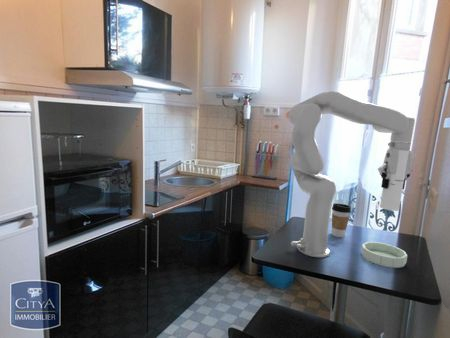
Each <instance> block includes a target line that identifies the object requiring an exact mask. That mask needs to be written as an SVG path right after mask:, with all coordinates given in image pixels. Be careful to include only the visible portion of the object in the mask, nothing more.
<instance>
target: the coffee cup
mask: <svg viewBox="0 0 450 338" xmlns="http://www.w3.org/2000/svg"><path fill="white" fill-rule="evenodd" d="M331 211H332V213H331V235H332V236H334V237H337V238H344V237H345V236H346V231H347V228H348V224H349V219H350V213H351V206H350V205H348V204H343V203H334V202H333V203H332V206H331Z"/></svg>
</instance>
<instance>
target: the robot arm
mask: <svg viewBox="0 0 450 338" xmlns="http://www.w3.org/2000/svg"><path fill="white" fill-rule="evenodd" d="M325 114H326V115H327V114H330V115H333V116H336V117H339V118H342V119H344V120H347V121H349V122H352V123H356V124H359V125H360V124H361V125H370V126H372V129H373V130H375V131H376V132H378V133H382V134H383V133H385V134H387V133H388V134H390V138H389V139H390V140H389V142H388V144H387V146H388V148H387V150H386V153H385V156H384V159H383V164H382V165H381V166H379V167H378V168H377V171H378V172H379V175H380V176H381V179H382V180H381V188H382V189H383V188H385V189H388V185H389V179H388V178H389V177H390V175H391V173H392V174H395V173H396V170H397V164H398V157H399V150H403V151H409V154H408V160H407V165H406V171H405V177H404V183H403V189H402V191H403V190H404V189H405V185H406V181H407V180H408V179H409V178H410V177H411V175H412V174H413V172H414V171H413V168H411V167H412V159H413V158H412V151H411V145H412V140H413V133H414V128H415V122H416V121H415V117H413V116H407V115H406V114H405V113H403V112H400V111H398V110H395V109H392V108H390V107H386V106H382V105H378V104H374V103H371V102H366V101H364V100H360V99H358V98H355V97H353V96H350V95H347V94H346V93H342V92H340V91H335V90H331V91H324V92H321V93H318V94H316V95H314V96H312V97H309V98H307V99H306V100H303V101H302V102H299V103H298V104H295V105H293V106H292V107H291V108H290V110H289V112H288V120H289V121H290V123H291V124H292V125H293V128H292V132H291V141H292V142H291V143H292V145H293V149H294V151H293V152H292V154H291V157H290V161H289V162H290V167H291V170H292V173H293V174H294V177H295V179H296V182H297V184H298V187H299V188H300V190H301V191H302V192H304V193H305V194H307V195H309V197H308V201H307V203H306V206H305V214H304V224H303V233H302V237H301V238H300V239H299V240H297V241H296V240H292V241H291V242H290V245H291V247H296V248H297V250H298V251H299V252H300V253H301V254H304V255H305V256H309V257H312V258H326V257H328V256H330V253H331V250H330V249H329V248H328V247H327V245H328V238H329V237H328V235H329V229H330V219H331V214H332V213H331V212H332V207H333V203H334V198H335V196H336V191H337V187H336V186H337V185H336V184H335V181H334V180H333V179H332V178H330V177H329V176H327V175H323V174H322V172H323V170H324V167H325V166H324V165H325V164H324V163H325V162H324V158H323V157H322V154H321V151H320V149H319V145H318V143H317V140H316V136H315V134H316V129H317V127H318V125H319V123H320V121H321V119H322V115H325ZM386 167H387V168H386ZM387 169H388V171H387ZM386 173H388V174H387V175H386Z"/></svg>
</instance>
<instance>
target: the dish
mask: <svg viewBox="0 0 450 338" xmlns="http://www.w3.org/2000/svg"><path fill="white" fill-rule="evenodd" d="M361 256H362V258H364V259H365V260H366V261H368V262H370V263H372V264H374V265H378V266H381V267H386V268H391V269H393V268H394V269H398V268H399V269H400V268H403V267H405V266H406V264H407V261H408V253H406V251H405V250H403V249H401V248H399V247H397V246H394V245H392V244H389V243H384V242H378V241H366V242H365V243H362V245H361Z"/></svg>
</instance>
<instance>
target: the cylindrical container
mask: <svg viewBox="0 0 450 338" xmlns="http://www.w3.org/2000/svg"><path fill="white" fill-rule="evenodd" d="M408 154H409V151H403V150H399V157H398V164H397V170H396V173H395V174H392V173H391V175H390V177H389V178H388V179H389V185H388V189H385V188H382V192H381V198H380V204H379V207H380V209H384V210H387V211H393V212H394V211H395V212H398V211H399V210H400V206H401V205H400V204H401V199H402V193H403V190H402V189H403V183H404V177H405V171H406V165H407V160H408ZM386 168H387V167H386ZM387 171H388V169H387ZM387 174H388V173H386V175H387Z"/></svg>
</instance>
